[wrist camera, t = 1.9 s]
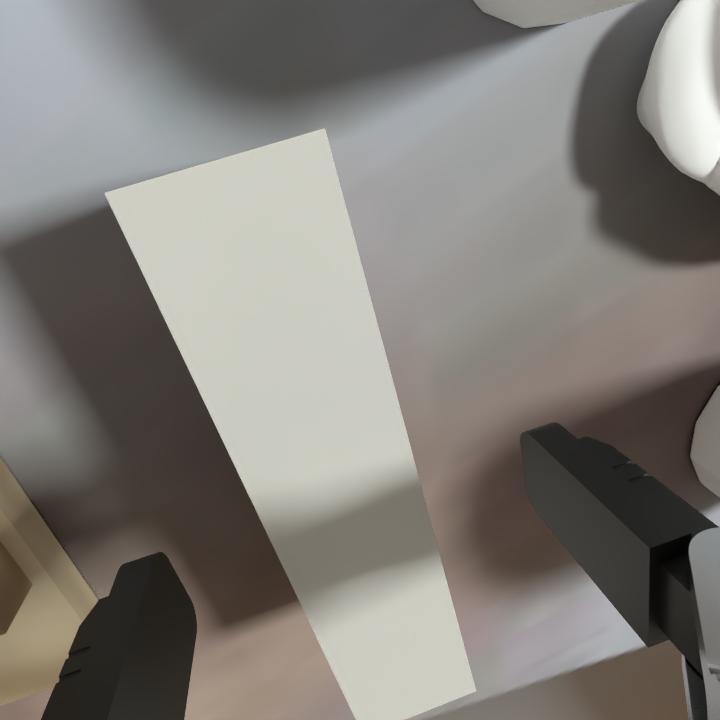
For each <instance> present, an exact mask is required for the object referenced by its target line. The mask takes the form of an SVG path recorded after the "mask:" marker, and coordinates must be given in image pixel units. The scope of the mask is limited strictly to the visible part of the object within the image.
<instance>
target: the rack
mask: <svg viewBox="0 0 720 720" xmlns="http://www.w3.org/2000/svg"><path fill="white" fill-rule="evenodd" d="M97 602H98V599H97V598H96V596H95V595H94V593H93V592H92V590H91V589H90V588H89V586H88V585H87V583H86V582H85V580H84V579H83V577H82V576H81V574H80V573H79V571H78V570H77V568H76V567H75V566H74V564H73V563H72V561H71V560H70V558H69V557H68V555H67V554H66V552H65V551H64V549H63V548H62V547H61V545H60V544H59V542H58V541H57V539H56V538H55V536H54V535H53V533H52V532H51V530H50V529H49V527H48V526H47V525H46V523H45V522H44V520H43V519H42V517H41V516H40V514H39V513H38V511H37V510H36V508H35V507H34V506H33V504H32V503H31V501H30V500H29V498H28V497H27V495H26V494H25V492H24V491H23V489H22V488H21V486H20V485H19V484H18V482H17V481H16V479H15V478H14V476H13V475H12V473H11V472H10V470H9V469H8V467H7V466H6V465H5V463H4V462H3V460H2V459H1V457H0V706H1V705H4V704H7V703H10V702H13V701H16V700H18V699H21V698H24V697H27V696H30V695H33V694H36V693H39V692H42V691H45V690H48V689H51V688H53V687H55V684H56V683H58V682H59V674H60V672H61V670H62V667H63V665H64V662H65V660H66V659H68V658H69V654H68V653H69V650H70V648H71V645H72V643H73V640H74V638H75V636H76V633H77V631H78V628H79V626H80V625H81V623H82V622H83V621H84V619H85V618H86V617H87V615H88V614H89V613H90V611H91V610H92V609H93V607H94V606H95V605H96V603H97Z"/></svg>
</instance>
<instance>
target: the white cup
mask: <svg viewBox="0 0 720 720" xmlns="http://www.w3.org/2000/svg"><path fill="white" fill-rule="evenodd" d="M690 458H691V460H692V463H693V466H694V468H695V471H696V473H697V476H698V478H699V481H700V482H701V484H703V485H704V486H705V487H706V488H708V489H709V490H710V491H712V492H713V493H714V494H715V495H717V496H718V497H719V498H720V385H719V386H718V387H717V388H716V390H715V392H714V393H713V395H712V396H711V398H710V400H709V401H708V403H707V405H706V406H705V408H704V410H703V411H702V413H701V415H700V416H699V418H698V420H697V422H696V425H695V430H694V436H693V441H692V447H691V453H690Z"/></svg>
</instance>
